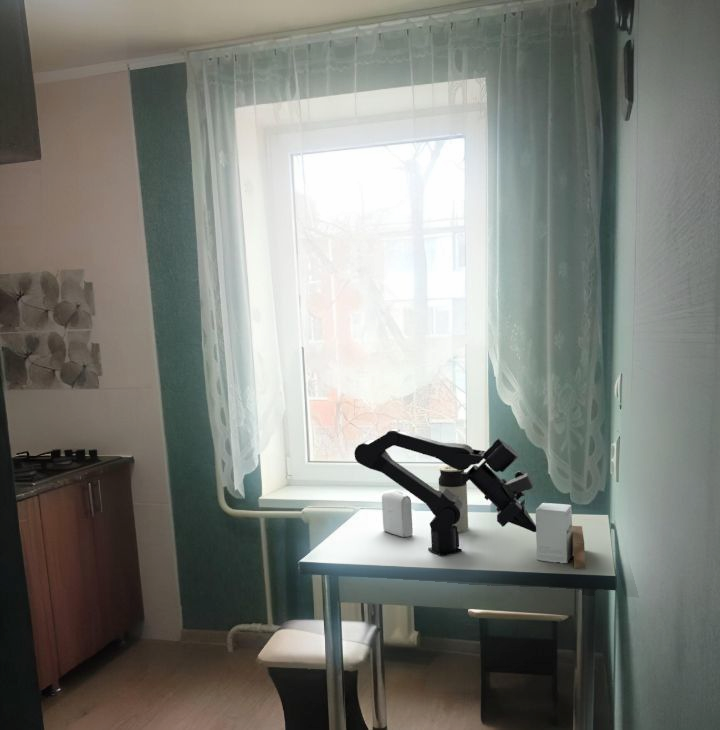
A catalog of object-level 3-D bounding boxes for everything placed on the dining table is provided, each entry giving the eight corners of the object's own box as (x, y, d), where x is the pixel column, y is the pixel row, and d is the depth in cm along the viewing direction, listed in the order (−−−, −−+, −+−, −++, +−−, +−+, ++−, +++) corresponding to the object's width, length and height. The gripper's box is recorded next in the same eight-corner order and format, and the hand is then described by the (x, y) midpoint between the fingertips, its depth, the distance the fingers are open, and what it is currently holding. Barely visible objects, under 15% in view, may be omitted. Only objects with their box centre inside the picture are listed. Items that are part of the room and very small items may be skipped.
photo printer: (381, 531, 181) (379, 489, 181) (392, 528, 184) (390, 486, 183) (403, 538, 173) (401, 494, 172) (415, 535, 175) (413, 492, 175)
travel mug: (473, 528, 180) (471, 466, 179) (458, 535, 174) (455, 471, 173) (450, 524, 185) (448, 464, 185) (435, 530, 179) (432, 468, 179)
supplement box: (567, 564, 147) (565, 511, 146) (536, 560, 150) (534, 508, 150) (574, 555, 153) (572, 504, 153) (543, 551, 157) (541, 501, 157)
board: (574, 568, 144) (573, 542, 144) (572, 549, 157) (572, 525, 157) (585, 568, 143) (584, 543, 143) (582, 549, 157) (582, 526, 157)
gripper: (509, 470, 145) (560, 519, 142) (515, 456, 163) (560, 500, 160) (476, 501, 148) (525, 550, 145) (486, 485, 166) (529, 528, 163)
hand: (536, 530), depth 153 cm, fingers closed
